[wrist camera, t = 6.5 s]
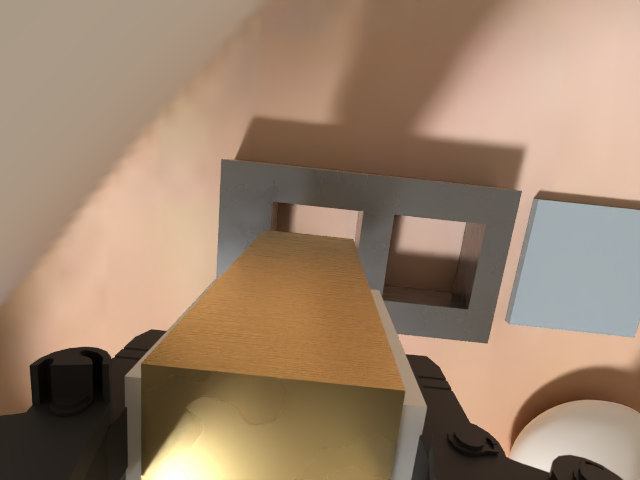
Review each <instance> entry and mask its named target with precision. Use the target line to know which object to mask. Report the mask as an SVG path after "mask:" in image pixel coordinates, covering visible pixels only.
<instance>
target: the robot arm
mask: <svg viewBox="0 0 640 480" xmlns="http://www.w3.org/2000/svg"><path fill="white" fill-rule="evenodd" d="M222 275H223V274H220V275H219V276H218V277H217V278H216V279H215V280H214V281H213V283H212V284H211V285H210V286H209V287H208V288H207V289H206V290H205V291H204V292H203V293H202V294H201V295H200V296H199V297H198V299H197V300H196V301H195V302H194V303H193V304H192V305H191V306H190V307H189V308H188V309H187V310H186V311H185V312H184V313H183V315H182V316H181V317H180V318H179V319H178V320H177V321H176V322H175V323H174V324H173V325H172V326H171V327H170V328H169V329H168V331H161V330H152V329H151V330H149V331H147V332H145V333H143V334H141V335H139V336H137V337H135V338H134V339H133V340H132V341H130V342H129V343H128V344H127V345H126V346H125V347H124V349H122V350H121V351H120V352H119V353H117V354H116V355H115V358H112V359H111V356H110V355H109V354H108V352H107V351H104V350H102V349H99V348H93V347H77V348H69V349H65V350H61V351H57V352H53V353H51V354H49V355H46V356H44V357H42V358H40V359H38V360H37V361H35V362H34V363H33V364H31V365H30V376H31V389H32V403H33V405H32V406H31V408H30V409H29V410H28V411H27V412H26V413H21V414H12V415H4V416H0V480H120V478H121V477H122V475H123V474H124V472H125V471H126V480H141V363H142V362H143V361H144V360H145V359H146V358H147V356H148V355H149V354H150V353H151V352H152V351H153V350H154V349H155V348H156V347H157V346H158V344H159V343H160V342H161V341H162V340H163V339H164V338H165V337H166V336H167V335H168V334H169V332H170V331H171V330H172V329H173V328H174V327H175V326H176V325H177V324H178V323H179V322H180V320H181V319H182V318H183V317H184V316H185V315H186V314H187V313H188V312H189V311H190V310H191V308H192V307H193V306H194V305H195V304H196V303H197V302H198V301H199V300H200V299H201V298H202V296H203V295H204V294H205V293H206V292H207V291H208V290H209V289H210V288H211V287H212V286H213V284H214V283H215V282H216V281H217V280H218V279H219V278H220V277H221V276H222ZM370 290H371V293H372V295H373V298H374V301H375V304H376V307H377V310H378V313H379V316H380V318H381V321H382V324H383V327H384V330H385V333H386V336H387V339H388V341H389V344H390V347H391V350H392V353H393V356H394V359H395V362H396V364H397V367H398V370H399V373H400V376H401V379H402V382H403V385H404V387H405V390H406V391H405V397H404V403H403V409H402V414H401V420H400V426H399V432H398V438H397V443H396V449H395V455H394V461H393V466H392V472H391V478H390V480H623V479H622V478H621V477H619V476H618V475H617V474H615V473H613V472H612V471H610V470H609V469H607V468H605V467H604V466H603V465H601V464H598V463H596V462H593V461H592V460H589V459H586V458H583V457H578V456H573V455H562V456H558V457H557V458H556V459H554V460H553V462H552V465H551V469H550V472H547V471H544V470H541V469H538V468H535V467H532V466H529V465H526V464H523V463H520V462H517V461H515V460H512V459H510V458H507V457H506V455H505V452H504V451H503V449H502V447H501V446H500V444H499V442H498V441H497V440H496V439H495V438H494V437H493V436H492V435H490V434H489V433H488V432H487V431H485V430H483V429H482V428H480V427H478V426H477V425H474V424H471V423H470V422H469V420H468V418H467V416H466V414H465V413H464V411H463V409H462V407H461V405H460V404H459V402H458V400H457V398H456V396H455V394H454V393H453V391H451V387H450V385H449V384H448V382H447V381H446V378H445V376H444V375H443V373H442V371H441V369H440V367H439V366H438V365H436V364H435V363H434V362H433V361H432V360H430V359H429V358H428V357H427V356H417V355H408V354H405V352H404V350H403V347H402V345H401V342H400V340H399V338H398V335H397V333H396V330H395V328H394V325H393V323H392V321H391V318H390V316H389V313H388V311H387V308H386V306H385V304H384V301H383V299H382V296H381V294H380V291H379V290H372V289H370Z"/></svg>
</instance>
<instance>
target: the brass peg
mask: <svg viewBox="0 0 640 480" xmlns="http://www.w3.org/2000/svg"><path fill="white" fill-rule="evenodd" d="M405 391H406V390H405V387H404V385H403V382H402V379H401V376H400V373H399V370H398V367H397V364H396V362H395V359H394V356H393V353H392V350H391V347H390V344H389V341H388V339H387V336H386V333H385V330H384V327H383V324H382V321H381V318H380V316H379V313H378V310H377V307H376V304H375V301H374V298H373V295H372V293H371V290H370V287H369V284H368V281H367V278H366V275H365V272H364V270H363V267H362V264H361V261H360V258H359V255H358V252H357V249H356V247H355V244H354V241H353V239H347V238H337V237H328V236H318V235H308V234H299V233H289V232H280V231H270V230H263V231H262V232H261V233H260V234H259V235H258V236H257V238H256V239H255V240H254V241H253V242H252V243H251V244H250V245H249V246H248V247H247V248H246V250H245V251H244V252H243V253H242V254H241V255H240V256H239V257H238V258H237V259H236V260H235V262H234V263H233V264H232V265H231V266H230V267H229V268H228V269H227V270H226V271H225V272H224V274H223V275H222V276H221V277H220V278H219V279H218V280H217V281H216V282H215V283H214V284H213V286H212V287H211V288H210V289H209V290H208V291H207V292H206V293H205V294H204V295H203V296H202V298H201V299H200V300H199V301H198V302H197V303H196V304H195V305H194V306H193V307H192V308H191V310H190V311H189V312H188V313H187V314H186V315H185V316H184V317H183V318H182V319H181V320H180V322H179V323H178V324H177V325H176V326H175V327H174V328H173V329H172V330H171V331H170V332H169V334H168V335H167V336H166V337H165V338H164V339H163V340H162V341H161V342H160V343H159V344H158V346H157V347H156V348H155V349H154V350H153V351H152V352H151V353H150V354H149V355H148V356H147V358H146V359H145V360H144V361H143V362H142V363H141V480H390V478H391V472H392V466H393V461H394V455H395V449H396V443H397V438H398V432H399V426H400V420H401V414H402V409H403V403H404V397H405Z"/></svg>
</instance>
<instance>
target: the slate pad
mask: <svg viewBox="0 0 640 480" xmlns="http://www.w3.org/2000/svg"><path fill="white" fill-rule="evenodd" d="M505 321H506V322H507V323H509V324H512V325H522V326H531V327H540V328H550V329H559V330H568V331H578V332H587V333H596V334H606V335H615V336H625V337H635V334H636V330H637V327H638V324H639V321H640V210H637V209H628V208H618V207H609V206H600V205H590V204H581V203H571V202H562V201H552V200H543V199H534V200H533V204H532V209H531V213H530V217H529V222H528V226H527V230H526V234H525V239H524V243H523V247H522V252H521V256H520V260H519V264H518V269H517V273H516V277H515V281H514V286H513V290H512V294H511V299H510V303H509V307H508V311H507V316H506V320H505Z"/></svg>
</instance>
